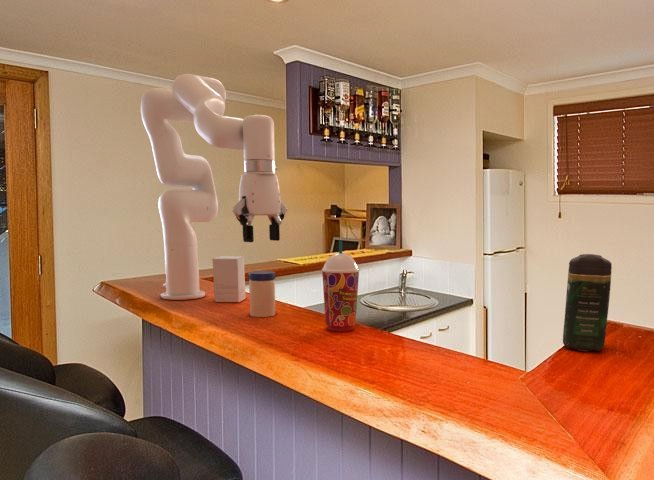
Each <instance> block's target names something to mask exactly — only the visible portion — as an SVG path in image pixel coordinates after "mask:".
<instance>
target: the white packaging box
mask: <svg viewBox="0 0 654 480" xmlns="http://www.w3.org/2000/svg"><path fill="white" fill-rule="evenodd" d="M211 260H212V273H213V292H214V294H213V295H214V302H215V303H240V302H242V301H244V300H246V296H247V295H246V274H245V273H246V271H245V256H244V255H242V256H241V255H220V256H217V257H213V258H212V259H211Z"/></svg>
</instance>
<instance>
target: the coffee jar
mask: <svg viewBox="0 0 654 480" xmlns="http://www.w3.org/2000/svg"><path fill="white" fill-rule="evenodd" d="M612 264H613V263H612V262H611V261H610V260H608V259H607V258H605V257H603V256H602V255H600V254H594V253H583V254H579V255H578V256H576V257H573V258H571V259H570V260H569V262H568V269H567V271H568V273H567V283H566V296H565V309H564V310H565V311H564V319H563V320H564V321H563V323H564V324H563V329H562V330H563V332H562V343H563V346H564V347H566V348H567V349H574V350H577V351H579V352H590V351H597V352H599V351H602V350H603V349H604V348H605V344H606V336H607V325H608V315H609V309H610V308H609V306H610V296H611V287H612V286H611V284H612V283H611V282H612V269H613V267H612ZM568 343H569V344H568ZM567 344H568V345H567Z"/></svg>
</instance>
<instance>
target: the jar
mask: <svg viewBox="0 0 654 480" xmlns="http://www.w3.org/2000/svg"><path fill="white" fill-rule="evenodd" d="M248 284H249V285H248V289H249V315H250V316H251V317H254V318H269V317H274V316H276V278H275V279H273V280H265V281H256V280H249V279H248Z"/></svg>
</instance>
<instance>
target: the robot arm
mask: <svg viewBox="0 0 654 480" xmlns="http://www.w3.org/2000/svg"><path fill="white" fill-rule="evenodd" d="M226 100H227V92H226V88H225V86H224V84H223V83H222V82H221V81H220V80H218V79H216V78H214V77H209V76H203V75H200V74H199V75H198V74H194V73H183V74H180V75H178V76H176V77H175V78H174V80H173V82H172V86H171V88H167V87H151V88H147V89H146V90H145V91H144V92H143V94H142V96H141V99H140V116H141V120H142V124H143V126H144V128H145V131H146V133H147V135H148V138H149V141H150V145H151V151H152V155H153V159H154V164H155V170H156V174H157V177H158V180H159V182H160V183H161V184H162V185H163V186H164V185H165V186H167V187H177V188H178V187H180V188H181V187H182V188H191V189H168V190H166V191H164V192H162V193H161V194H160V196H159V198H158V200H157V207H158V212H159V216H160V221H161V226H162V235H163V249H164V251H163V252H164V269H165V282H163V284H162V287H163V288H165V291H164V292H162V293H160V297H161V299H164V300H169V301H170V300H171V301H186V300H196V299H201V298H204V297H205V296H206V292H205V291H204V290H201V289H200V271H199V270H200V269H199V268H200V267H199V246H198V245H199V244H198V236H197V233H196V232H195V230H194V228H193V227H192V225H191V223H209V222H212V221H213V220H215V219H216V218H217V217H218V214H219V199H218V195H217V190H216V185H215V181H214V174H213V170H212V167H211V165H210V163H209V161H208V160H207V159H206V158H205V157H203V156H201V155H197V154H187V153H185V151H184V148H183V144H182V138H181V136H180V135H179V133H178V131H177V130H176V129H175V127H174V126H173V125H172V124H171V123H170V122H169V121H175V122H176V121H177V122H182V123H183V122H185V123H193V125H194V128H195V131H196V133H197V134H198V136H200V138H202V139H203V140H204V141H205V142H206V143H208V144H209V145H211V146H212V147H215V148H219V149H228V150H229V149H230V150H241V151H242V152H243V173H241V175H240V180H239V185H238V186H239V187H238V189H239V190H238V202H237V203H236V204H235V205H234V206H232V208H231V211H232V213H233V214H234V216H235V218H236V220H237V221H238V222H239V225H240V226H242V240H243V243H254V239H255V238H254V225H252V223H253V221H254V218H255V216H267V218H268V219H269V222H270V224H269V225H268V226H269V227H268V234H269V240H270V241H280V240H281V237H280V235H281V234H280V225H282V224H283V223H282V222H283V220H284V218H285V216H286V214H287V212H288V207H287V206H286V205H285V204H284V203H283V202H282V201H281V191H280V184H279V178H278V175H277V174H276V171H277V170H278V165H277V164H276V146H275V144H276V142H275V141H276V140H275V122H274V119H273V118H272V117H271V116H268V115H266V114H265V115H264V114H251V115H246V116H245V117H244V118H241V117H233V116H232V117H231V116H226V115H224V114H225V111H226Z"/></svg>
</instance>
